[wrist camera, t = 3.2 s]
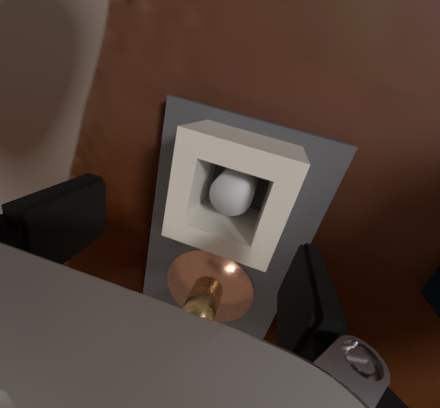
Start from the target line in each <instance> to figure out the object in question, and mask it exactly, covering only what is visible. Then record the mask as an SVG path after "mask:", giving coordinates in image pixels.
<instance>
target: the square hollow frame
mask: <svg viewBox="0 0 440 408" xmlns="http://www.w3.org/2000/svg"><path fill="white" fill-rule="evenodd" d="M216 164H217V165H220V166H224V167H227V168H230V169H233V170H237V171H240V172H243V173H246V174H250V175H253V176H256V177H260V178H263V179H266V180H269V184H268V187H267V190H266V193H265V195H264V198H263V201H262V204H261V207H260V210H259V211H258V210H255V209H252V208H248V209H247V210H246V211H245V212H244V213H242V214H240V215H236V216H229V215H225V214H222V213H220V212H219V211H218V210H216V209H215V207H214V206H213V205H212V203H211V200H210V196H209V191H210V187H211V183H212V179H213V175H214V170H215V166H216ZM309 167H310V162H309V160H308V158H307V155H306V153H305V150H304V148H303V146H299V145H296V144H292V143H289V142H285V141H281V140H278V139H274V138H271V137H267V136H264V135H260V134H257V133H253V132H250V131H246V130H243V129H239V128H235V127H232V126H228V125H225V124H221V123H218V122H214V121H211V120H203V121H198V122H194V123H189V124H184V125H180V126H177V133H176V140H175V147H174V153H173V160H172V167H171V174H170V180H169V187H168V194H167V201H166V207H165V214H164V221H163V228H162V234H161V235H162V236H165V237H168V238H171V239H174V240H176V241H179V242H182V243H185V244H187V245H190V246H193V247H196V248H199V249H201V250H204V251H207V252H210V253H213V254H215V255H218V256H221V257H224V258H227V259H229V260H232V261H235V262H238V263H241V264H243V265H246V266H249V267H252V268H255V269H257V270H260V271H263V272H266V270H267V267H268V265H269V263H270V260H271V258H272V256H273V253H274V251H275V248H276V246H277V244H278V241H279V239H280V236H281V234H282V232H283V229H284V227H285V224H286V222H287V220H288V217H289V215H290V212H291V210H292V208H293V205H294V203H295V201H296V198H297V196H298V193H299V191H300V189H301V186H302V184H303V181H304V179H305V177H306V174H307V172H308V169H309Z"/></svg>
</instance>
